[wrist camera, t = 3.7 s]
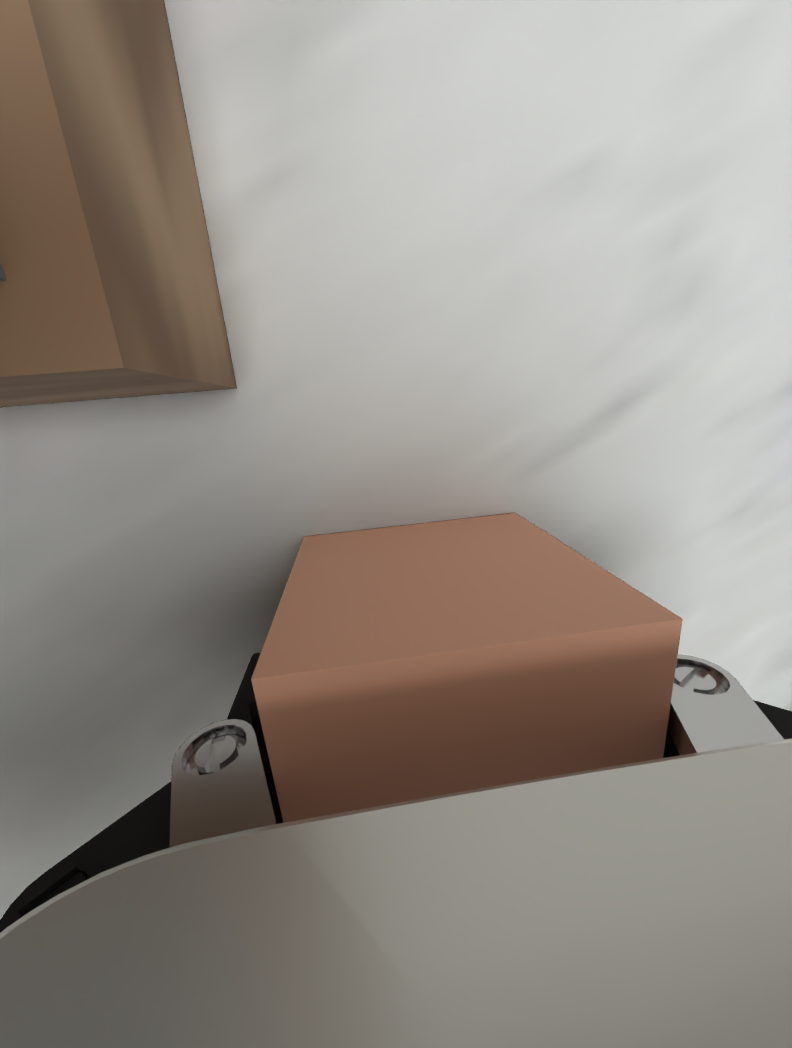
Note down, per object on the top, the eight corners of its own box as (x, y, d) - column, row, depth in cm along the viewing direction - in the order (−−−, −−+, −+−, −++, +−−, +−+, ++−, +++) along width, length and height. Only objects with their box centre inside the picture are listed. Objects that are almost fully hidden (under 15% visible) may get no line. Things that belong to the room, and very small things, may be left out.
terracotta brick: (514, 687, 13) (642, 905, 7) (332, 714, 13) (317, 969, 7) (515, 512, 11) (682, 618, 6) (303, 536, 11) (251, 679, 5)
